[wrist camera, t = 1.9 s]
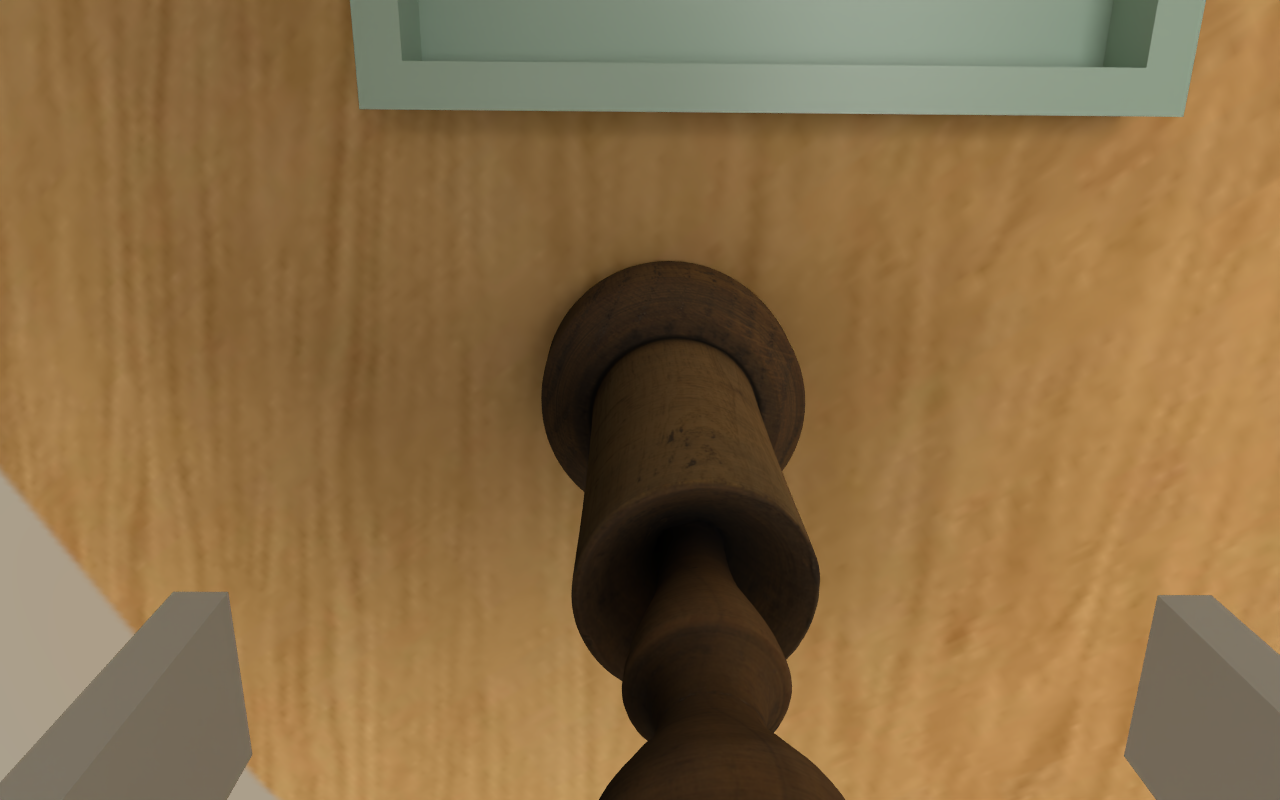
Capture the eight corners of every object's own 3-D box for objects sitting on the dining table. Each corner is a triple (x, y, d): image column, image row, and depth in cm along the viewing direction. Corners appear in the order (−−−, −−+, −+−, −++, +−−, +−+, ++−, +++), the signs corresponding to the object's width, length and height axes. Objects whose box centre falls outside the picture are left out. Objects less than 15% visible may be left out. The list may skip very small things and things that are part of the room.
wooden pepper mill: (821, 288, 24) (1245, 787, 7) (760, 508, 26) (983, 1292, 9) (570, 236, 24) (408, 642, 7) (528, 465, 26) (325, 1207, 9)
